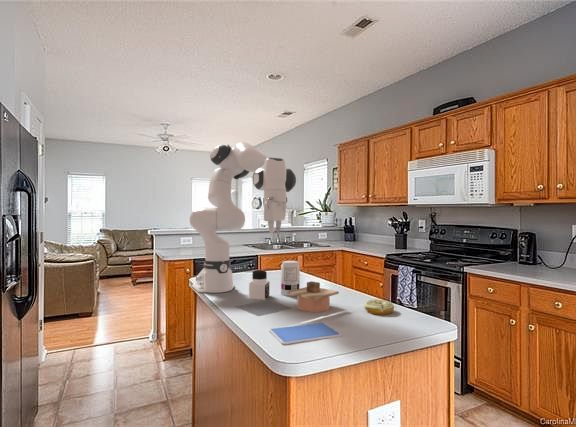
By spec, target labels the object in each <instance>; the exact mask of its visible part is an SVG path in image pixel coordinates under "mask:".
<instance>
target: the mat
mask: <svg viewBox="0 0 576 427" xmlns="http://www.w3.org/2000/svg"><path fill="white" fill-rule="evenodd" d="M234 308H237V309H240V310H242V311H244V312H247V313H250V314H252V315H255V316H256V317H261V316H266V315H269V314H274V313H278V312H282V311H283V312H284V311H287V310H291V309H293V307H291V306H288V305H285V304H282V303H279V302H275V301H273V300H270V299H265V300H259V301H255V302H251V303H246V304H244V303H243V304H239V305H234Z"/></svg>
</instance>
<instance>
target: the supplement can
mask: <svg viewBox="0 0 576 427" xmlns="http://www.w3.org/2000/svg"><path fill="white" fill-rule="evenodd" d="M300 266H301V265H300V264H299V261H297V260H284V261H282V263H281V266H280V270H281V272H280V277H281V278H280V294H281V295H282V296H285V297H295V295H290V294H288V292H289V291H293V290H297V289H300V276H301V275H300V272H301V271H300V268H301V267H300Z"/></svg>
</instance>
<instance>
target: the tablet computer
mask: <svg viewBox="0 0 576 427" xmlns="http://www.w3.org/2000/svg"><path fill="white" fill-rule="evenodd" d="M269 333H270V334H271V336H273V337H274V338H275V339H276V340H277V341H278V342H279V343H280V344H281V345H286V346H287V345H291V344H297V343H299V344H300V343H304V342H310V341H311V342H312V341H318V340H319V339H320V340H327V339H335V338H340V337H342V334H341V333H339V332H338V331H337V330H335V329H333V328H332V327H330V326H329V325H327V324H326V323H324V322H316V323H309V324H301V325H292V326H283V327H277V328H275V327H274V328H270V329H269ZM326 338H327V339H326Z"/></svg>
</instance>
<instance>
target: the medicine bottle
mask: <svg viewBox="0 0 576 427" xmlns="http://www.w3.org/2000/svg"><path fill="white" fill-rule="evenodd" d="M267 275H268V274H267V271H266V270H264V269H257V270H254V271H252V281H251V282H249V283H248V284H249V286H248V292H249V293H248V295H249V296H248V297H249V298H248V299H250V300H261V301H264V300H268V298H269V297H270V280H267V279H268V278H267Z"/></svg>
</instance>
